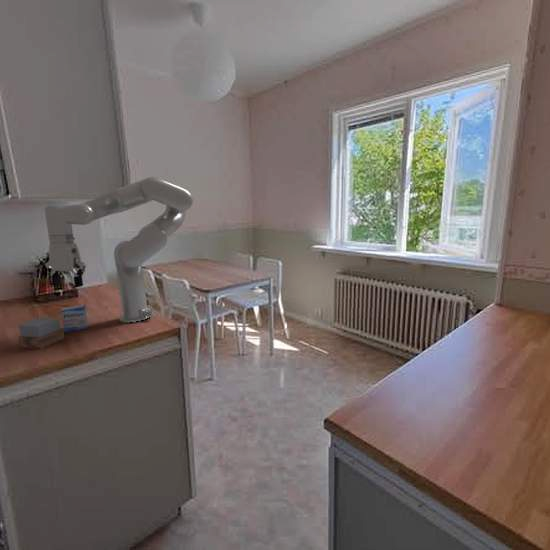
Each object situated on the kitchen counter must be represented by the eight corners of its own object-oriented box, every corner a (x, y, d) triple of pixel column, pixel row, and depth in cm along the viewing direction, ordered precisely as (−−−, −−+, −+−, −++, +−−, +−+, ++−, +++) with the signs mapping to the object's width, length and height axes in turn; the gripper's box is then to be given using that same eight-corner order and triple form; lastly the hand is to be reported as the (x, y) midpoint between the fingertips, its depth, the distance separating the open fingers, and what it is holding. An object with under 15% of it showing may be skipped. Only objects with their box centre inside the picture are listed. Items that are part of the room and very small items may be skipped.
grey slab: (60, 329, 120) (58, 318, 119) (39, 337, 112) (37, 326, 112) (42, 327, 122) (40, 317, 121) (21, 336, 114) (18, 324, 114)
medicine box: (64, 333, 126) (60, 310, 125) (65, 329, 130) (61, 307, 129) (88, 328, 130) (84, 306, 128) (88, 325, 134) (85, 304, 132)
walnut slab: (64, 339, 121) (62, 328, 120) (41, 349, 113) (39, 338, 112) (44, 337, 123) (42, 327, 123) (20, 347, 115) (18, 336, 114)
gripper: (89, 238, 124) (95, 284, 128) (51, 238, 129) (58, 283, 132) (72, 241, 117) (79, 289, 121) (33, 240, 122) (40, 287, 125)
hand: (68, 286), depth 126 cm, fingers open, 9 cm apart
